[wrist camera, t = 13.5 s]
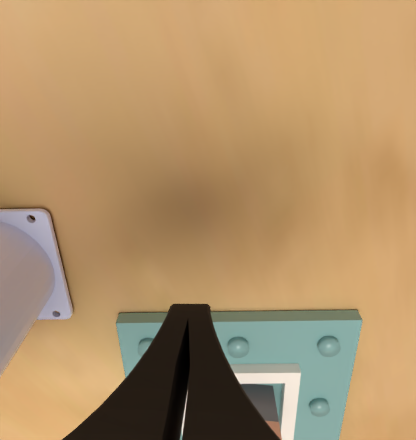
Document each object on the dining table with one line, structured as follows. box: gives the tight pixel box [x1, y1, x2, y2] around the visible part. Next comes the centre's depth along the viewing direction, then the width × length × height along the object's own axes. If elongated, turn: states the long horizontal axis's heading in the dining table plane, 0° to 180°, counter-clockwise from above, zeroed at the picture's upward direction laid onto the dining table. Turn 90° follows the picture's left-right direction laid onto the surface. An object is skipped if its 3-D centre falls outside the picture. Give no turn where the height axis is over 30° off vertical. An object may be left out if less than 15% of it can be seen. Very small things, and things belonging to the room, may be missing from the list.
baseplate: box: [116, 310, 362, 440], centre depth 28 cm, size 16×16×2 cm
